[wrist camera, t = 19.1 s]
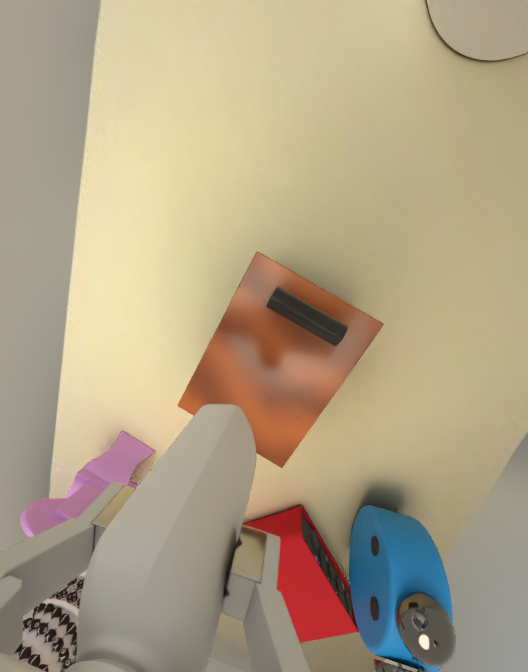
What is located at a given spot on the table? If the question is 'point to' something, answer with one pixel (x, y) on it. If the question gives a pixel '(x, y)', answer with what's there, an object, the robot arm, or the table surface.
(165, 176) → the table surface
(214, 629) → the eye dropper bottle
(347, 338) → the lid
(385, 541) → the alarm clock
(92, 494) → the toy chair
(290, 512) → the red device housing
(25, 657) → the decorative candle
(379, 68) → the table surface
